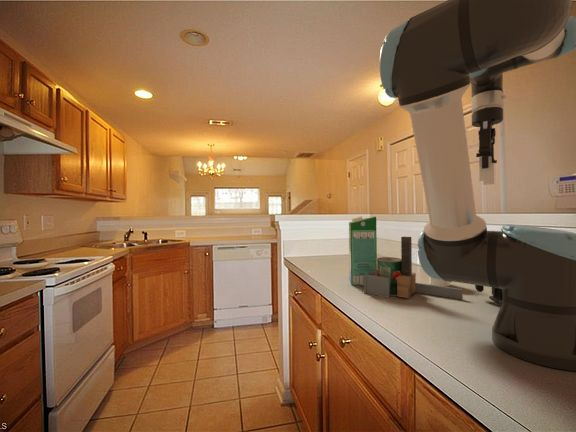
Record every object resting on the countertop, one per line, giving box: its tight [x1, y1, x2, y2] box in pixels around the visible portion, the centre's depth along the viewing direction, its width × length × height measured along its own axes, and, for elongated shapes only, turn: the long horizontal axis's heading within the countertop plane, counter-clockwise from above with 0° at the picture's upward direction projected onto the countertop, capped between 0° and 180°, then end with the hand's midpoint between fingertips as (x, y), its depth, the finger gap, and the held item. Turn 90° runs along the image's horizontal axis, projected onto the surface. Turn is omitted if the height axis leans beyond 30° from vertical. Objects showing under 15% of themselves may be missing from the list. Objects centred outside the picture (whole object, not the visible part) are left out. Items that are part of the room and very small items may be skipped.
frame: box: [363, 270, 464, 301], centre depth 87 cm, size 12×26×6 cm, turn 51°
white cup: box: [428, 275, 451, 287], centre depth 101 cm, size 8×8×10 cm
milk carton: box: [348, 215, 378, 286], centre depth 105 cm, size 9×9×25 cm
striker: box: [396, 236, 417, 299], centre depth 88 cm, size 9×3×18 cm, turn 141°
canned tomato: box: [377, 256, 402, 297], centre depth 91 cm, size 8×8×11 cm
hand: (487, 182), depth 82 cm, fingers open, 13 cm apart
